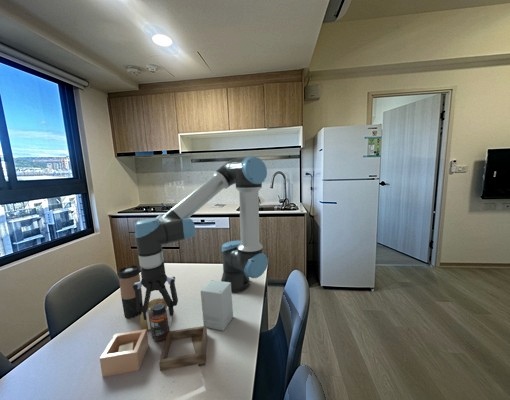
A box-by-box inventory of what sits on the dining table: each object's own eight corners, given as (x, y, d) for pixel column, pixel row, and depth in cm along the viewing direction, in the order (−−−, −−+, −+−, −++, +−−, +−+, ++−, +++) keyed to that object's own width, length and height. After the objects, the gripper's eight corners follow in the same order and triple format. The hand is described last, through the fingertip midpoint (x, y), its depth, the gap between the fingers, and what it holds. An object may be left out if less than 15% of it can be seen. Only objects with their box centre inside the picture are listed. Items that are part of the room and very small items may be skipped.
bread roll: (173, 308, 100) (172, 291, 98) (161, 332, 85) (159, 312, 84) (151, 309, 99) (149, 292, 98) (135, 334, 84) (133, 314, 83)
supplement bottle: (167, 327, 85) (166, 299, 83) (171, 337, 80) (169, 307, 78) (150, 333, 82) (148, 304, 80) (153, 344, 77) (150, 313, 75)
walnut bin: (206, 334, 82) (206, 325, 82) (205, 364, 69) (204, 354, 69) (169, 340, 80) (168, 331, 79) (160, 373, 67) (159, 362, 67)
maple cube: (134, 352, 74) (133, 341, 74) (133, 361, 71) (132, 350, 70) (120, 357, 72) (119, 346, 72) (119, 366, 69) (117, 355, 68)
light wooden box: (148, 347, 77) (146, 329, 76) (139, 372, 68) (136, 352, 67) (117, 352, 76) (114, 333, 75) (102, 379, 66) (99, 358, 65)
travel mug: (135, 319, 92) (129, 273, 90) (119, 318, 94) (113, 272, 91) (147, 308, 100) (142, 265, 97) (132, 307, 101) (127, 264, 99)
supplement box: (233, 316, 92) (231, 281, 90) (224, 331, 83) (221, 293, 81) (214, 312, 95) (211, 279, 93) (202, 326, 86) (199, 290, 84)
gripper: (182, 256, 82) (189, 314, 86) (126, 263, 79) (135, 322, 83) (179, 265, 75) (186, 327, 78) (117, 273, 72) (128, 337, 75)
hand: (160, 325), depth 80 cm, fingers closed on supplement bottle, 6 cm apart
